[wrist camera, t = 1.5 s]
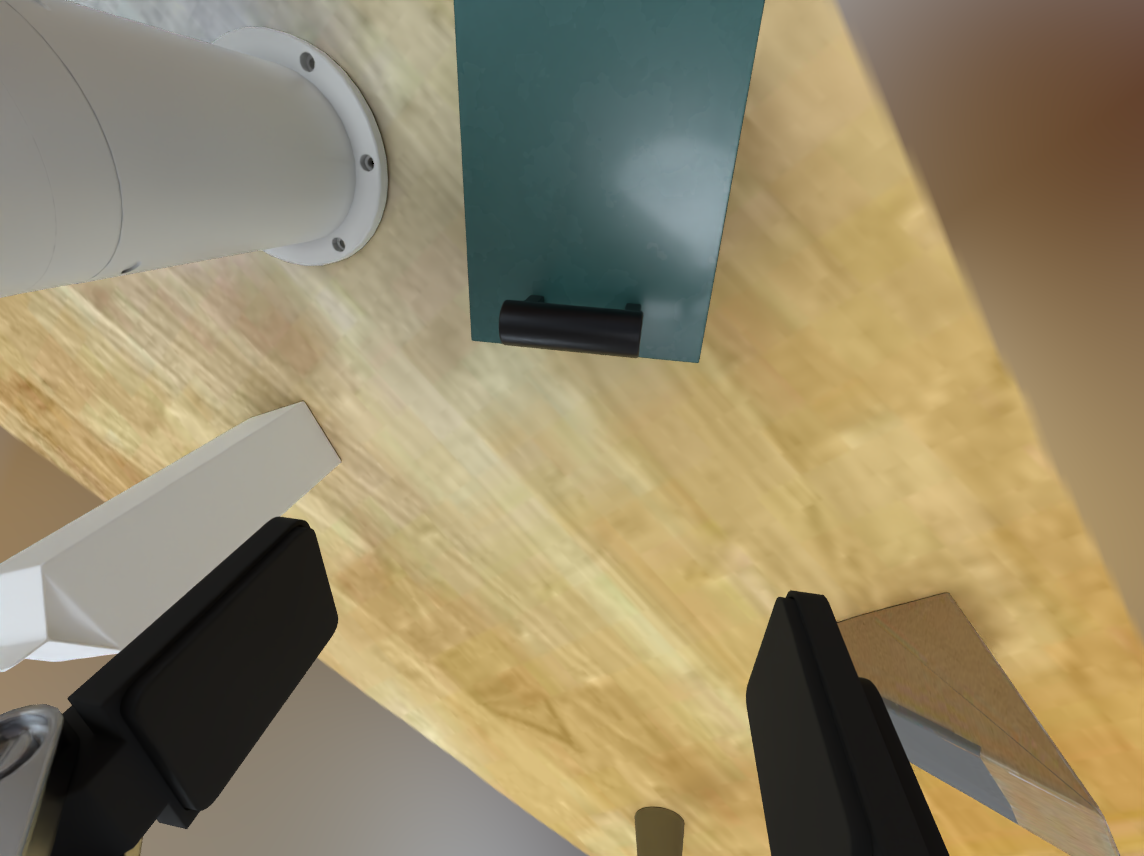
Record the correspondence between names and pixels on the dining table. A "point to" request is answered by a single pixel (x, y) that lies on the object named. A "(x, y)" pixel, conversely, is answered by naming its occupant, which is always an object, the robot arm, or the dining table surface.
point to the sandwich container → (972, 721)
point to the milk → (156, 540)
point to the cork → (659, 832)
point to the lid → (599, 167)
